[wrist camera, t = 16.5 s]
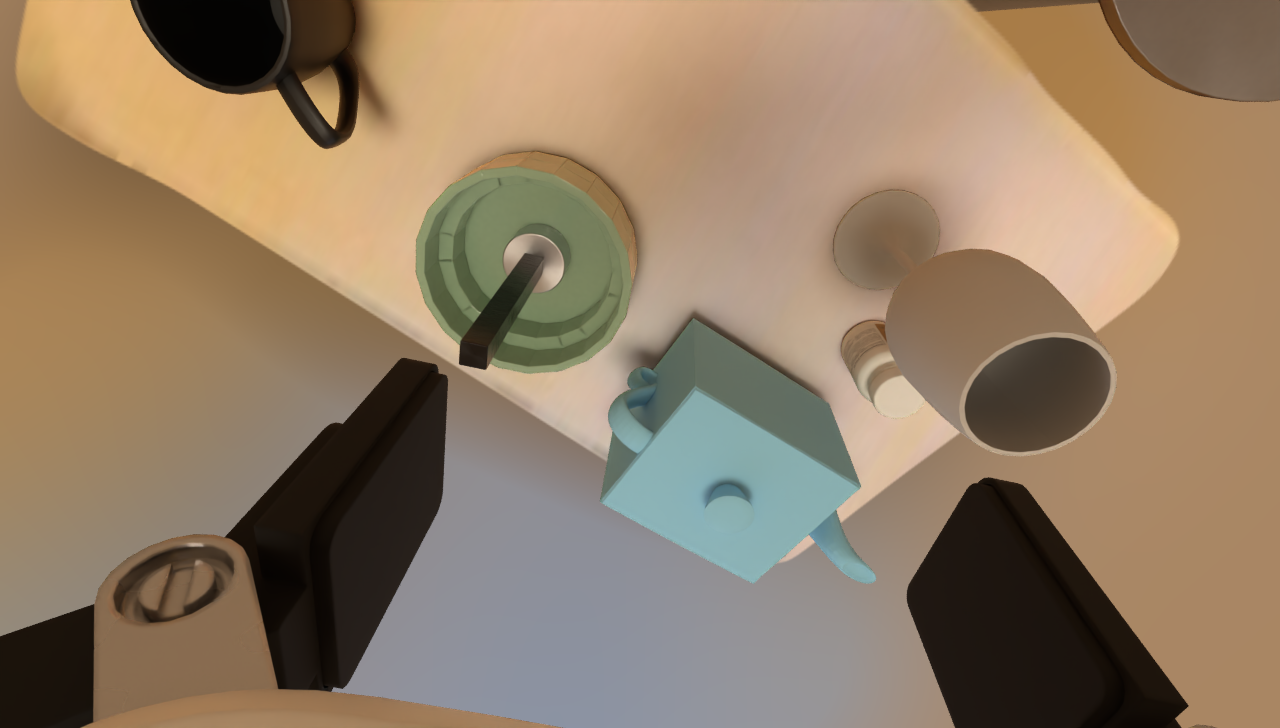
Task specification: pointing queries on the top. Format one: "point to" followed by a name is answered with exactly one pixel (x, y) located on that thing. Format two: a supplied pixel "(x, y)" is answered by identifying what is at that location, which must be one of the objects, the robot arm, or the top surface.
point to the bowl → (486, 222)
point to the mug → (261, 51)
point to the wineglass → (977, 330)
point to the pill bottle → (879, 371)
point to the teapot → (729, 459)
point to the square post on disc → (516, 289)
